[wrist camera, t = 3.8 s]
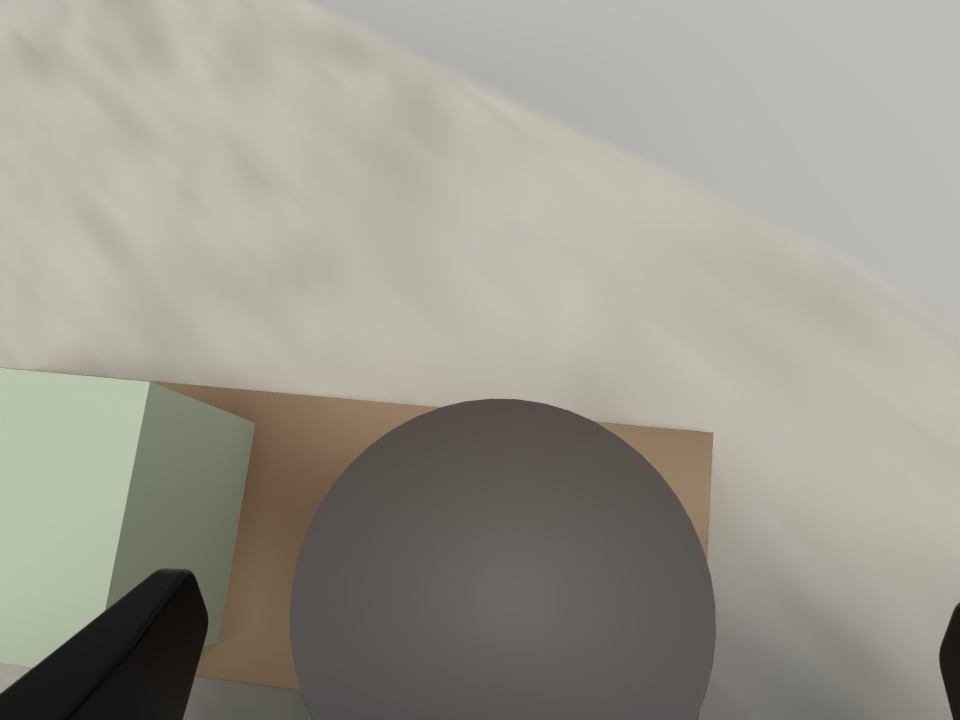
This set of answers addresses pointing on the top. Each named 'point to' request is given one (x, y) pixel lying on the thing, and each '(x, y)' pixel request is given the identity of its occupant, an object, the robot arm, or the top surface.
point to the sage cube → (109, 500)
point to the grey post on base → (467, 561)
